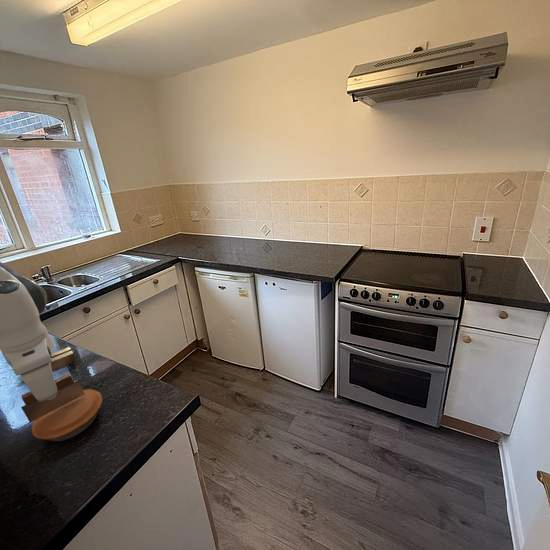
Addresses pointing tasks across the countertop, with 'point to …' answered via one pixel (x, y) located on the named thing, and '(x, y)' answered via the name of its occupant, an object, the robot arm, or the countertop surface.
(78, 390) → the brown wooden block
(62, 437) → the pie
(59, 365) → the knife stand
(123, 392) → the countertop surface
